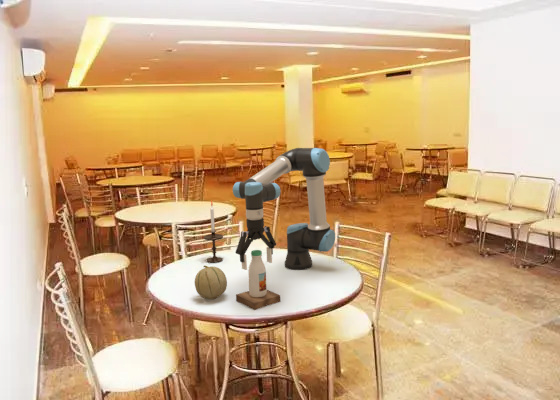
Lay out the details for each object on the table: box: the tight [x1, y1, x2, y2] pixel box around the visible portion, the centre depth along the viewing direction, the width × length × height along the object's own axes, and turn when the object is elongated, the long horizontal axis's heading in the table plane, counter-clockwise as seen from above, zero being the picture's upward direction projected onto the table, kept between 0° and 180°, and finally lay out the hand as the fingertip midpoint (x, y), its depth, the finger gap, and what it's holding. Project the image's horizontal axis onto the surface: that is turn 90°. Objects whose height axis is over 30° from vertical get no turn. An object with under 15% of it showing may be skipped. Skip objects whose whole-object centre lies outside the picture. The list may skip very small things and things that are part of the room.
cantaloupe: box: [194, 265, 228, 300], centre depth 223 cm, size 15×15×15 cm
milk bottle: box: [248, 249, 268, 297], centre depth 216 cm, size 8×8×20 cm
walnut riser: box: [235, 289, 281, 311], centre depth 218 cm, size 14×14×3 cm
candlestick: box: [203, 200, 224, 264], centre depth 280 cm, size 11×11×35 cm
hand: (257, 265), depth 216 cm, fingers open, 13 cm apart
